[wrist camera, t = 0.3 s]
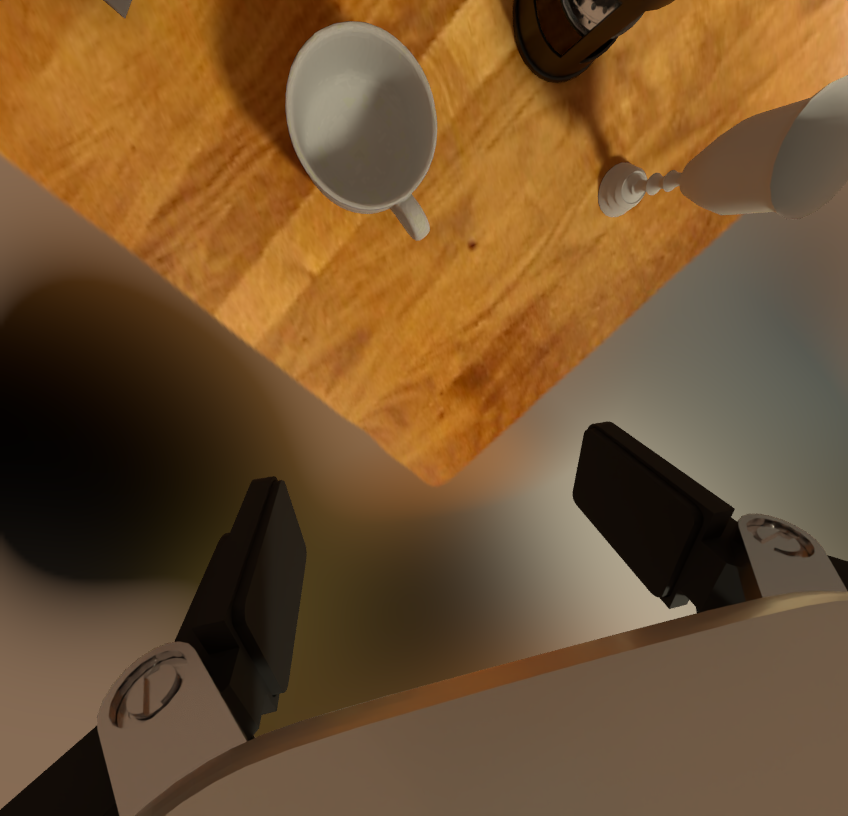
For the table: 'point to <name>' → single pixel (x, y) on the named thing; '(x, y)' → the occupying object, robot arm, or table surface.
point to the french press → (591, 18)
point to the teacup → (363, 120)
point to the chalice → (756, 163)
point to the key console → (120, 6)
